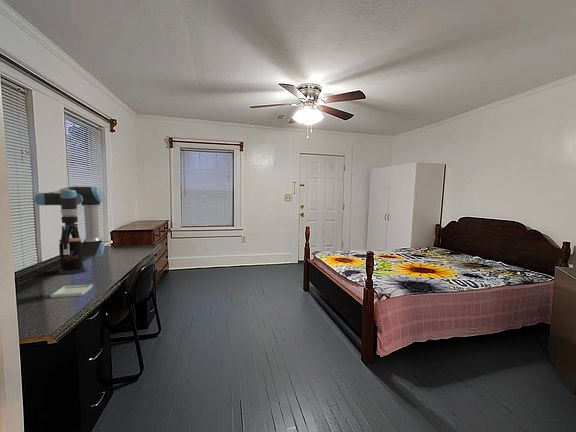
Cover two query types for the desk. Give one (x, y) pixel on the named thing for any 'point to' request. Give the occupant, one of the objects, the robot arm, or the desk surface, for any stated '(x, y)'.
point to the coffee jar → (71, 255)
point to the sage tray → (72, 291)
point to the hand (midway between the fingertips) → (71, 252)
